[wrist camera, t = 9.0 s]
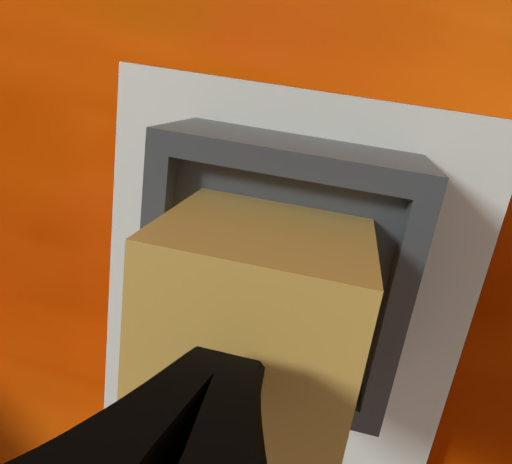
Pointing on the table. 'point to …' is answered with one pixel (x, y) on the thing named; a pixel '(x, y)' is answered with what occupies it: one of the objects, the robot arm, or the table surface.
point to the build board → (360, 132)
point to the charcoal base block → (318, 197)
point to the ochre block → (259, 308)
